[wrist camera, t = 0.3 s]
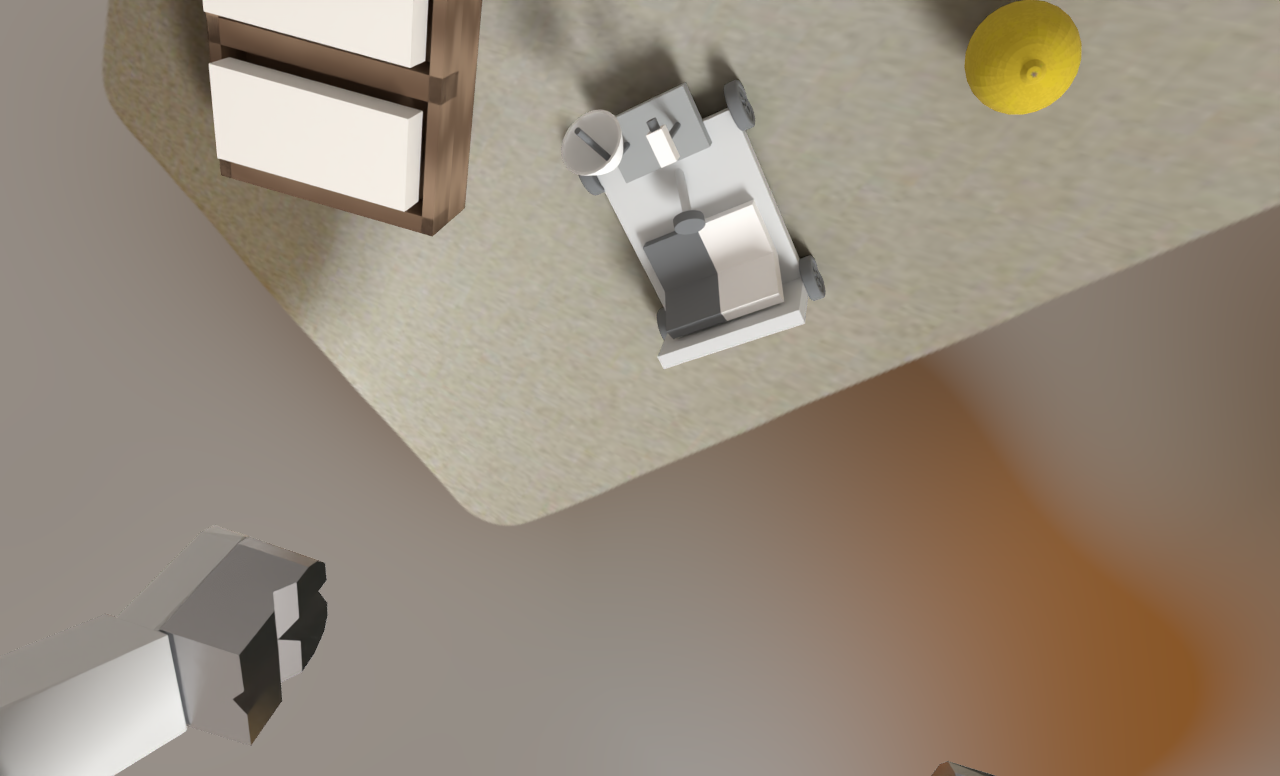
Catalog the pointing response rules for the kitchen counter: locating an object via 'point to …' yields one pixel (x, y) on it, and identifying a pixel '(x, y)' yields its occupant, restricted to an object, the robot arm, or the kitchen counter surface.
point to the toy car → (697, 219)
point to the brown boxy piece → (426, 87)
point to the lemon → (1023, 57)
